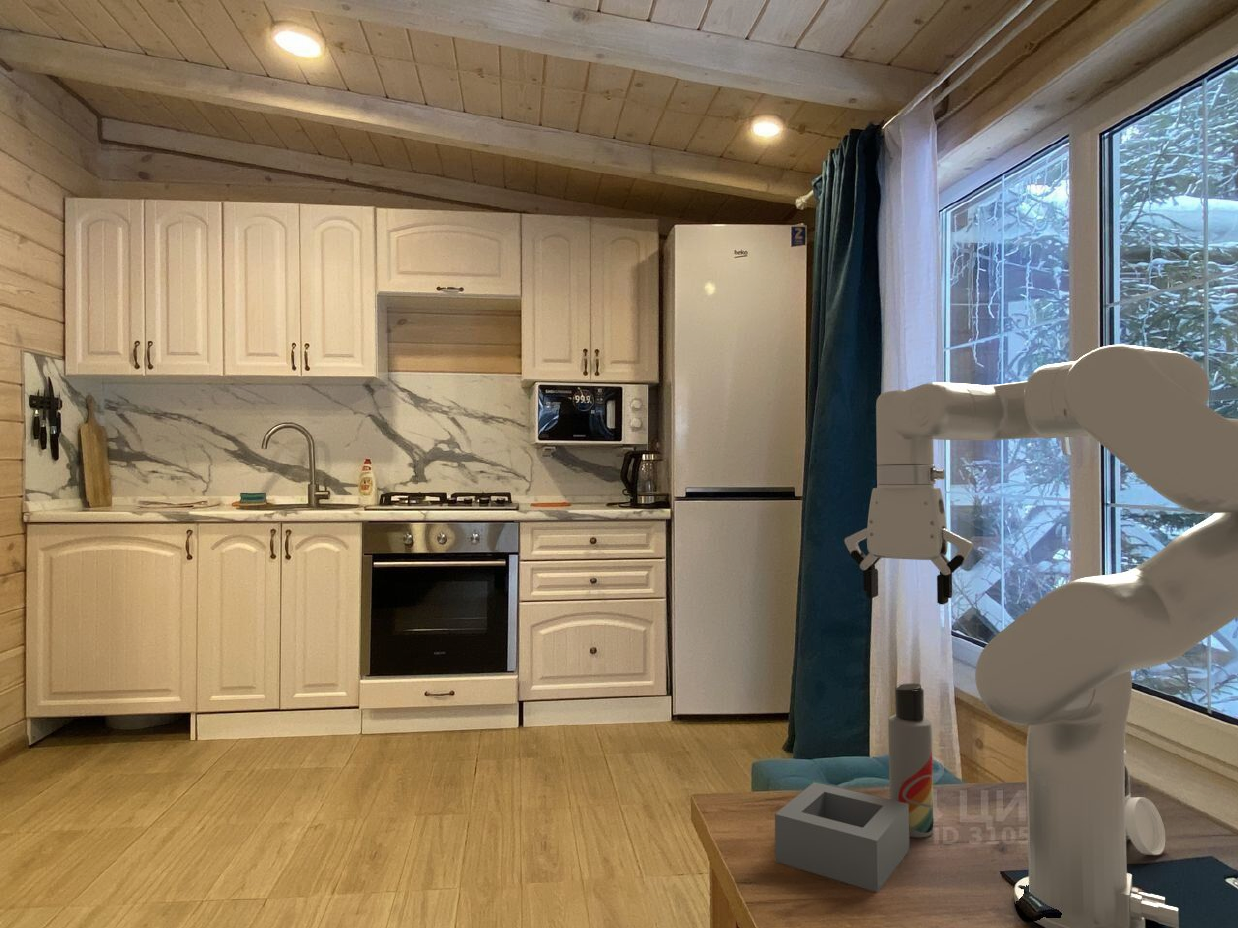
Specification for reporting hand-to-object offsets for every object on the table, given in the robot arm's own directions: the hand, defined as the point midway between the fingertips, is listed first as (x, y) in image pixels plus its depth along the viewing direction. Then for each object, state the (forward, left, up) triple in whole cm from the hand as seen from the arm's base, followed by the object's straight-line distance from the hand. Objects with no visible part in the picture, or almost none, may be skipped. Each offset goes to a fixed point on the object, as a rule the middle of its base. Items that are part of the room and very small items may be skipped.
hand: (906, 600), depth 109 cm
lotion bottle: (0, 0, -32) cm, 32 cm away
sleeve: (+5, +13, -32) cm, 35 cm away
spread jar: (-23, -13, -32) cm, 42 cm away
